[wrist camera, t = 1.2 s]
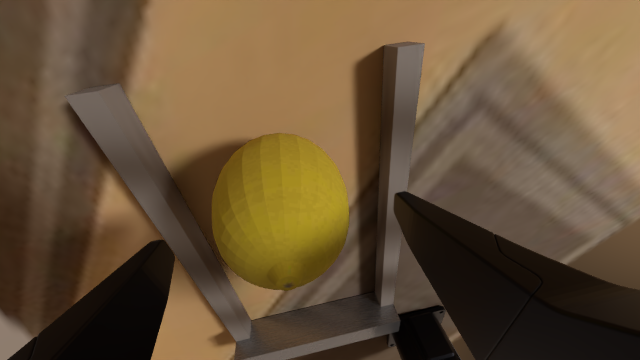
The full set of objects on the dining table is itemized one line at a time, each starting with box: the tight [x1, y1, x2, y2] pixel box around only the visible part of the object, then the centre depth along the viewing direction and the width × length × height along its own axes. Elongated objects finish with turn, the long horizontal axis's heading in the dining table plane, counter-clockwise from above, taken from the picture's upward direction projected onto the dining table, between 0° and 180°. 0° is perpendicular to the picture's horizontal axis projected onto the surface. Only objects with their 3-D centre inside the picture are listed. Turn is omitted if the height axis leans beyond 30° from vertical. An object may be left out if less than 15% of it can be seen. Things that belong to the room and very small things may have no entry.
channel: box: [65, 42, 425, 360], centre depth 16 cm, size 23×14×3 cm, turn 6°
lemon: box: [212, 133, 349, 291], centre depth 10 cm, size 6×6×8 cm
